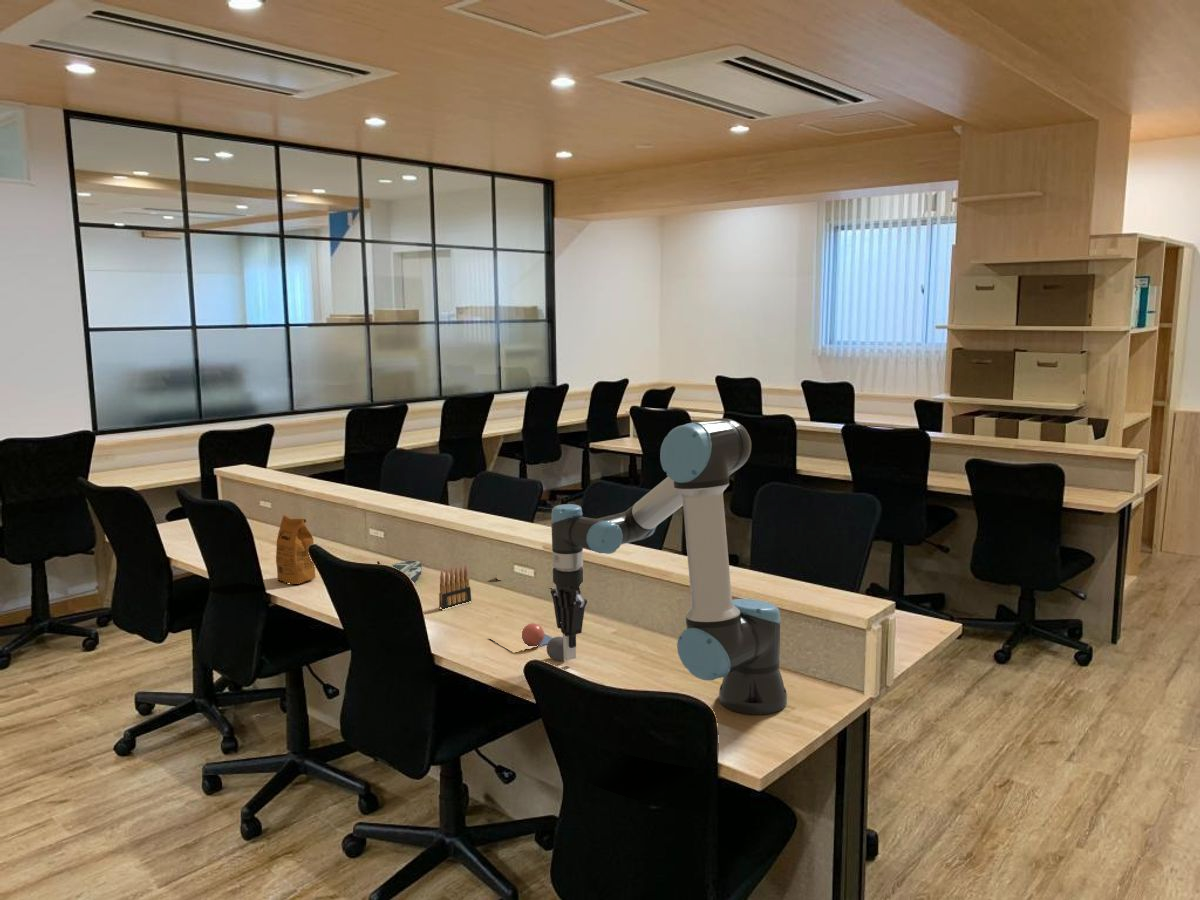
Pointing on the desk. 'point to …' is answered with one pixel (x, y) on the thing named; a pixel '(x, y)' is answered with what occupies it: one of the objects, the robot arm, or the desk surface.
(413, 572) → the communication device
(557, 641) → the gray ball
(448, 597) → the ammunition clip
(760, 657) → the robot arm
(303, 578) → the coffee package
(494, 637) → the desk surface
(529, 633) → the object ball
